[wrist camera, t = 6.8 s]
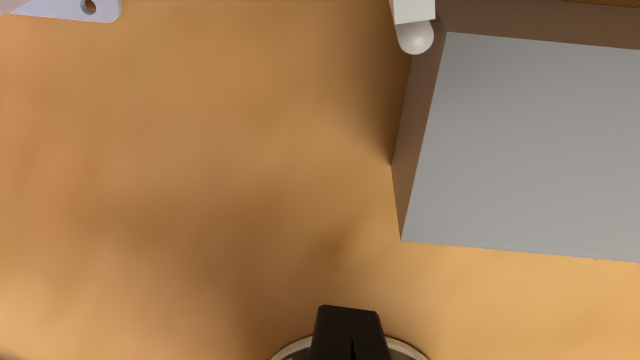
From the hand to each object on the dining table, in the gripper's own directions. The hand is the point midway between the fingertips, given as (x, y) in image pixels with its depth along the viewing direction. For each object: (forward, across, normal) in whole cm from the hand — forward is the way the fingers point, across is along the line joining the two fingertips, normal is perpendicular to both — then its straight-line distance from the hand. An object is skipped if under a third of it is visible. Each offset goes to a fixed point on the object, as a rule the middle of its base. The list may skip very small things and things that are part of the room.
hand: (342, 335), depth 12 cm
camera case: (+9, -7, -3) cm, 12 cm away
